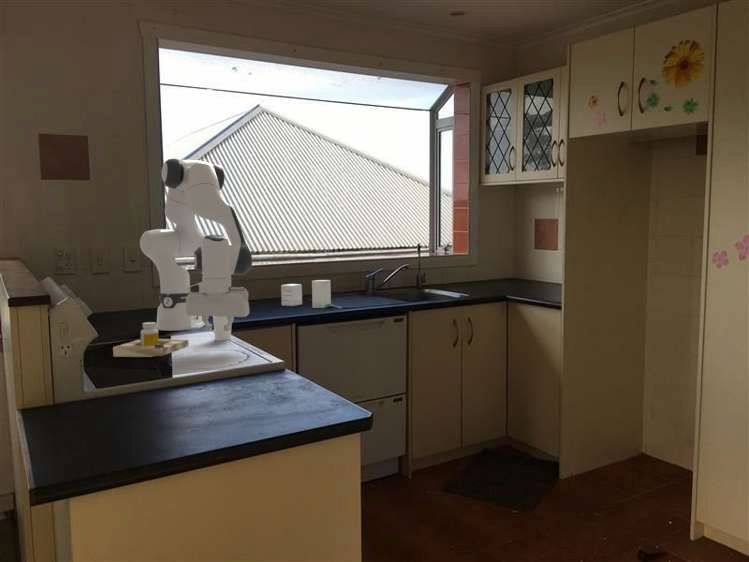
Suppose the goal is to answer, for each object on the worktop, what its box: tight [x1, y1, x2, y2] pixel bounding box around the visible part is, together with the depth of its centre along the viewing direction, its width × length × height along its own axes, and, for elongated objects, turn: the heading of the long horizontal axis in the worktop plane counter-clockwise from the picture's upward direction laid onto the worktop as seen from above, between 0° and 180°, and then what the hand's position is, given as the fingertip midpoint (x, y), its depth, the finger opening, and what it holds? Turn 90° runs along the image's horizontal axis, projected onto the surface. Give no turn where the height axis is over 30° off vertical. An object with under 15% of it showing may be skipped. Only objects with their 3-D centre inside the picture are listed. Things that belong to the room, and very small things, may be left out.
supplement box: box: [280, 283, 303, 307], centre depth 314 cm, size 7×7×13 cm
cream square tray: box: [112, 338, 189, 358], centre depth 205 cm, size 17×17×4 cm
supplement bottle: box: [140, 321, 159, 346], centre depth 205 cm, size 5×5×10 cm
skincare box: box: [311, 279, 332, 309], centre depth 301 cm, size 8×7×16 cm
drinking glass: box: [212, 316, 232, 342], centre depth 221 cm, size 7×7×15 cm
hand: (218, 330), depth 202 cm, fingers open, 5 cm apart
